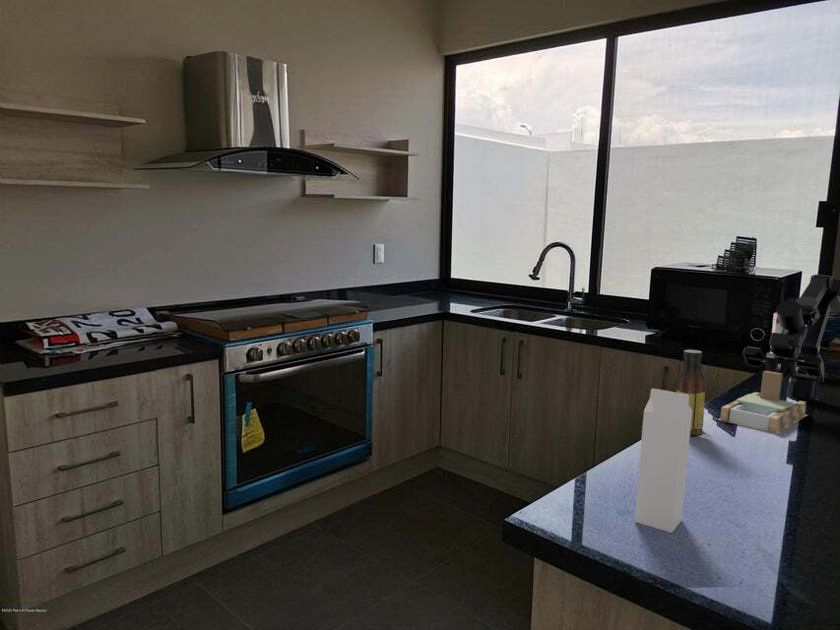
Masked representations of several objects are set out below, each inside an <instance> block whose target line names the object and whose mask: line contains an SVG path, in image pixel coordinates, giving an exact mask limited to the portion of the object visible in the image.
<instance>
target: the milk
mask: <svg viewBox="0 0 840 630" xmlns="http://www.w3.org/2000/svg"><path fill="white" fill-rule="evenodd" d="M642 416H643V419H642V428H641V429H642V430H641V440H640V441H641V443H640V452H639V453H640V454H639V466H638V478H637V479H638V480H637V487H636V488H637V490H636V500H635V501H636V502H635V503H636V504H635V514H634V515H635V517H634V523H636V524H641V525H643V526H646V527H650V528H653V529H656V530H660V531H664V532H666V533H671V534H673V532H674V531H676V529H677V528H678V526H679V525H680V523H681V522H682V521H683V520H682V519H683V513H684V511H683V510H684V503H685V502H684V501H685V492H686V491H685V490H686V480H687V471H688V470H687V469H688V459H689V449H690V448H689V447H690V436H691V435H690V429H691V418H692V409H691V408H690V406H689V395H687V394H682V393H677V391H676V392H674V391H671V390H666V389H665V390H664V389H658V388H651V389H650V394H649V399H648V401H647V403H646V405H645V408H644V410H643V415H642Z"/></svg>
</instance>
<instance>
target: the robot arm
mask: <svg viewBox="0 0 840 630" xmlns="http://www.w3.org/2000/svg"><path fill="white" fill-rule="evenodd" d="M839 304H840V280H839V279H836V278H835V277H833V276H830V275H827V274H826V275H825V274H814V275H813V274H812V275H811V276H810V281H809V283H808V284H807V286H806V288H805V289H804V291H803V293H802V294H801V296H800V297H798V298H792V297H789V298H788V299H787V300H786V301H782V302H780V303H779V304H778V305H777V306H776V308H775V310H776V312H775V313H777V316H778V320H779V324H780V327H782V328H783V329H782V331H781V333H772V332H771V334H770V338H769V342H768V345H770V347H771V348H769V352H767V353H766V354H764V353H763V351H762V348H760V347H753V346H746V347H744V349H743V351H742V357H743V359H744V363H745V365H747V366H748V367H754V368H760V367H762V366H763V364H764V365H765V368H766V371H770V372H776V373H782V380H781V384H782V383H783V382H784V381H786V380H787V379H789V378H790V381H788V387H787V393H785V396H786V397H789V398H791V399H793V400H795V401H797V402H799V401H804V402H820V399H818V398H817V392H818V385H819V382H824V380H825V364H824V360H823V358H822V357H821V354H820V349H819V346H820V347H821V342H822V339H823V336H824V332H825V329H826V326H827V322H828V320H829V316H830V313H831V310H833V309H834V308H835V307H836V306H838V305H839ZM805 325H807V327H806V326H805ZM818 349H819V351H818ZM770 351H771V352H773V353H770ZM778 365H781V366H780V369H778Z"/></svg>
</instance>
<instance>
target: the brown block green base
mask: <svg viewBox="0 0 840 630" xmlns="http://www.w3.org/2000/svg"><path fill="white" fill-rule="evenodd" d="M761 376H762V378H761V386H760V393H761V394H760V396H757V395H752V393H747V394H746V395H744V396H742V397H739V398H737V399H736V400H735V401H736V402H740V403H744V404H749V405H754V406H759V407H764V408H768V409H773V410H778V411H784V410H786V409H787V408H789V407H791V406H793V405H794V404H795V403H794V402H791V401H787V400H782V399H780V397H781V396H780V395H781V389H782V388H781V387H782V383H781V380H782V373H776V372H770V371H767V370H764V371H762V375H761Z"/></svg>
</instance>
